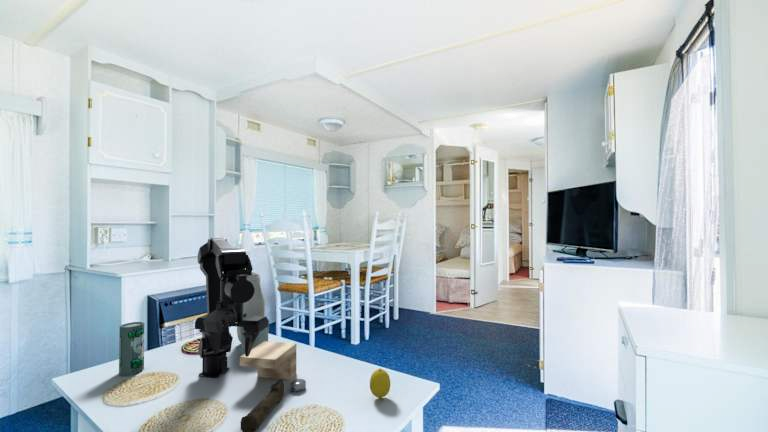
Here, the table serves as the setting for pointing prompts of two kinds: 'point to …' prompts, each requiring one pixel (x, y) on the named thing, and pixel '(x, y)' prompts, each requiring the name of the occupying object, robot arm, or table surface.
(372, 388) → the lemon
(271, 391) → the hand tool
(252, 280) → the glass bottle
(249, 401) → the table surface
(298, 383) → the steel token
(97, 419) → the table surface
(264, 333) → the grey green cup
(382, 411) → the table surface
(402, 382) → the table surface
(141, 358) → the can
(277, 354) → the beige wooden box
